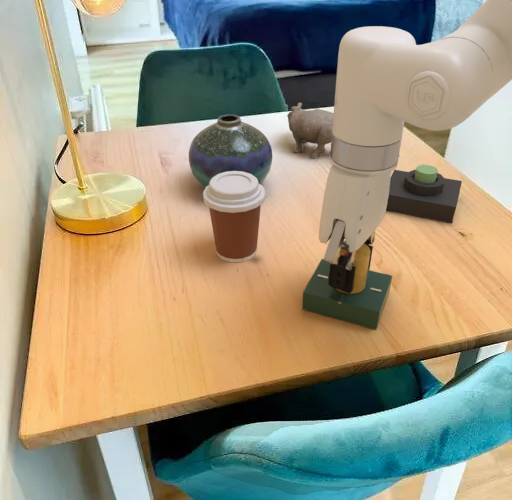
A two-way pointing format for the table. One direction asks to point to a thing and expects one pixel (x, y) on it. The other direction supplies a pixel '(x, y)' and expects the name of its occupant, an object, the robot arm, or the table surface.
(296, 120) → the rhinoceros figurine
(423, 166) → the green short cylinder
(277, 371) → the table surface
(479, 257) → the table surface
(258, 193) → the coffee cup
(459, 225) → the table surface
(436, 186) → the button base
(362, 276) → the knob
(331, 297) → the panel
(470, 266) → the table surface
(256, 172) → the vase
